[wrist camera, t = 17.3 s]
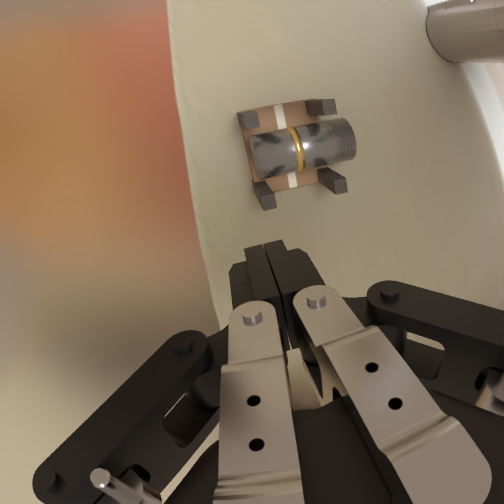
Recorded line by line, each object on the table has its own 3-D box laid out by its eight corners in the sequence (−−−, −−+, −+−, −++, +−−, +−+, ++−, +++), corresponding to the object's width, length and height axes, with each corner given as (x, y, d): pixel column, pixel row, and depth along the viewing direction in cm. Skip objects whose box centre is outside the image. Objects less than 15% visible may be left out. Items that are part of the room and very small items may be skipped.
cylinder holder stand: (237, 112, 34) (242, 112, 28) (312, 98, 34) (334, 97, 28) (255, 193, 39) (263, 211, 32) (325, 177, 39) (347, 192, 32)
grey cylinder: (333, 117, 34) (351, 117, 30) (341, 157, 36) (359, 162, 32) (246, 135, 34) (251, 136, 29) (256, 176, 36) (263, 184, 32)
